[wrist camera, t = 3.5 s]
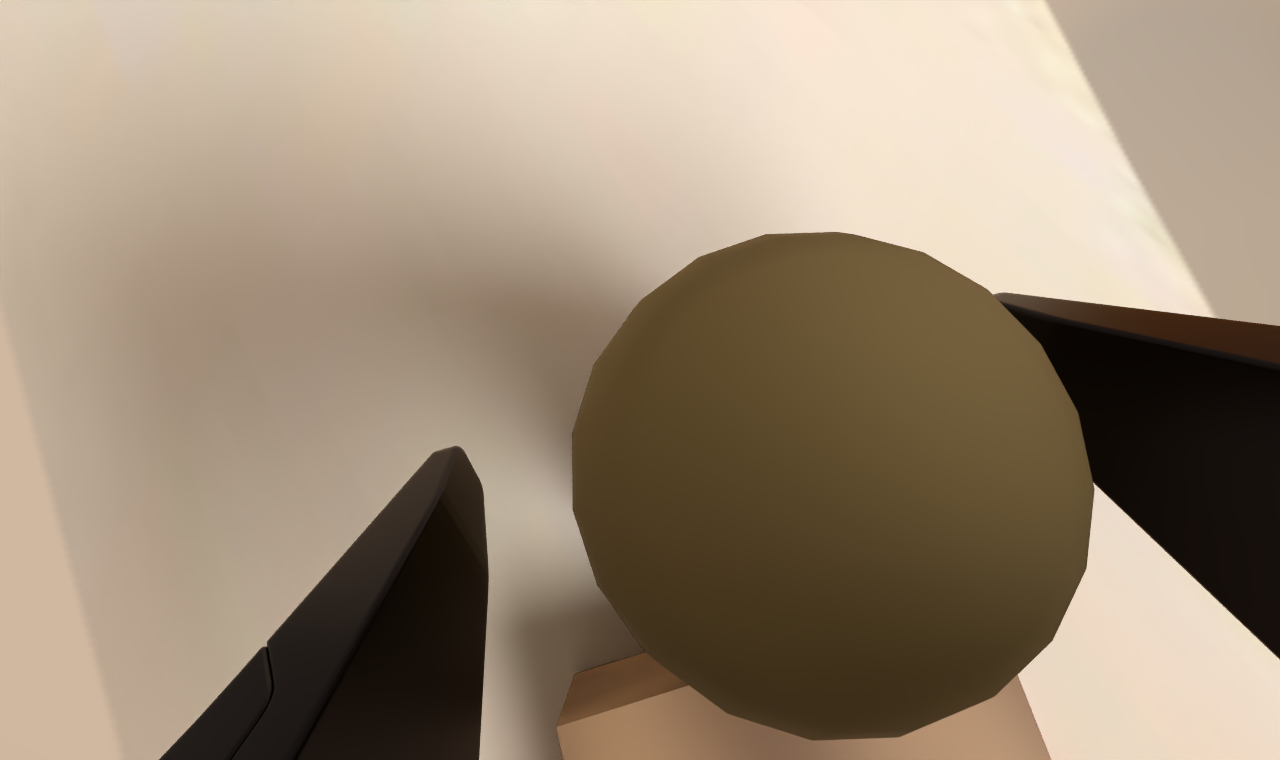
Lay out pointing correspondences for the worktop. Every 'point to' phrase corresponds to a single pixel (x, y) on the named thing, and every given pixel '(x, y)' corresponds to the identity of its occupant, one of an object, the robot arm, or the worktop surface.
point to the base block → (753, 753)
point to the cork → (832, 485)
